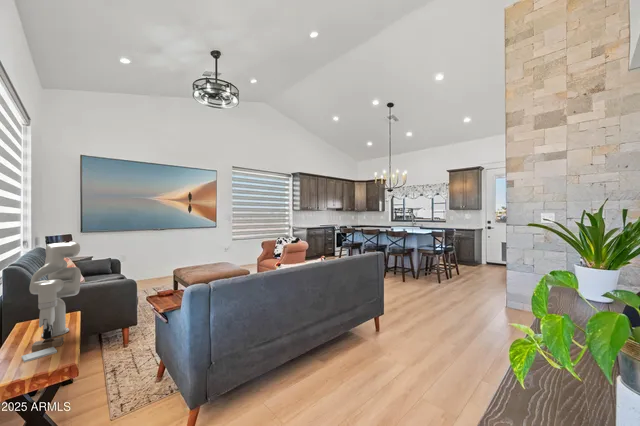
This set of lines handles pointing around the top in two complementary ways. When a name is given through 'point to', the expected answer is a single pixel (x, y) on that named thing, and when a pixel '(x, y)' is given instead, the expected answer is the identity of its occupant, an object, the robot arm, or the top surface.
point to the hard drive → (39, 354)
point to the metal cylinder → (51, 332)
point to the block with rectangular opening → (47, 343)
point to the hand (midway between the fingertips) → (48, 336)
